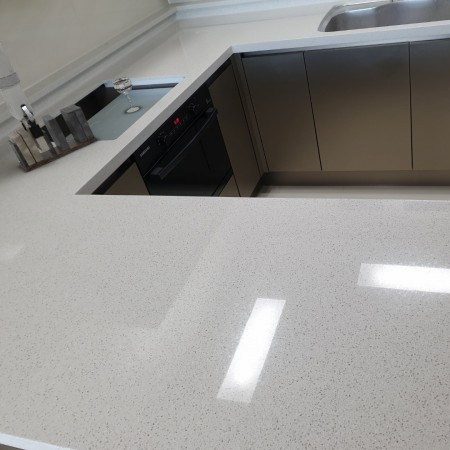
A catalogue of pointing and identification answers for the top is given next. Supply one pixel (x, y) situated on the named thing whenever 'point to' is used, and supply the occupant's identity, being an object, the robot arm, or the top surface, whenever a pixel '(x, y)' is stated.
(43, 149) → the cream book
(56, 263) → the top surface
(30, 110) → the robot arm
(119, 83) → the wineglass
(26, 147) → the book shelf
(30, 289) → the top surface
